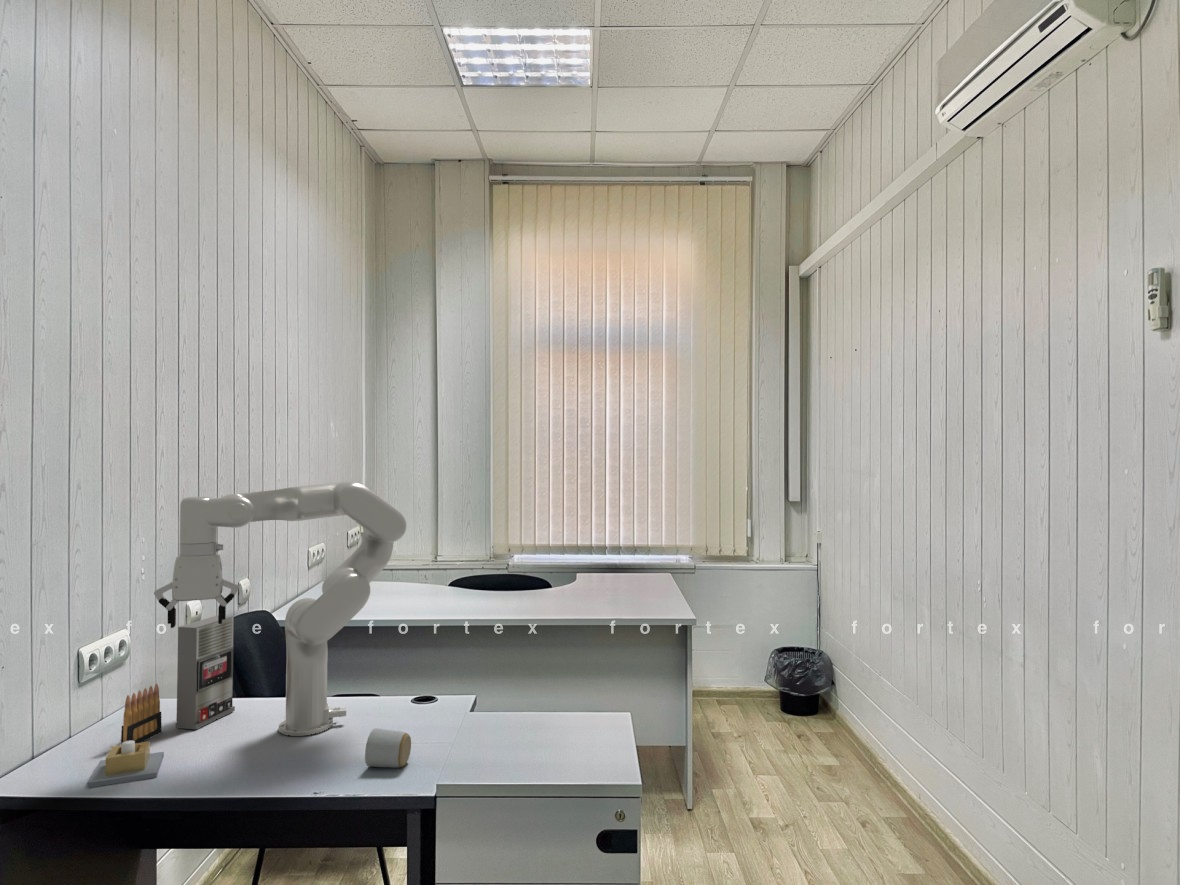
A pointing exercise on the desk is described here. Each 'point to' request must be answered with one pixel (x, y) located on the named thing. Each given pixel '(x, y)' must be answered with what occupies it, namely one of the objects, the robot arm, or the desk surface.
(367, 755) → the grey tan-ended cylinder
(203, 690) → the cassette tape recorder
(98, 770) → the post plate
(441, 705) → the desk surface
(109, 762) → the collar
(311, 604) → the robot arm
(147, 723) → the ammunition clip
